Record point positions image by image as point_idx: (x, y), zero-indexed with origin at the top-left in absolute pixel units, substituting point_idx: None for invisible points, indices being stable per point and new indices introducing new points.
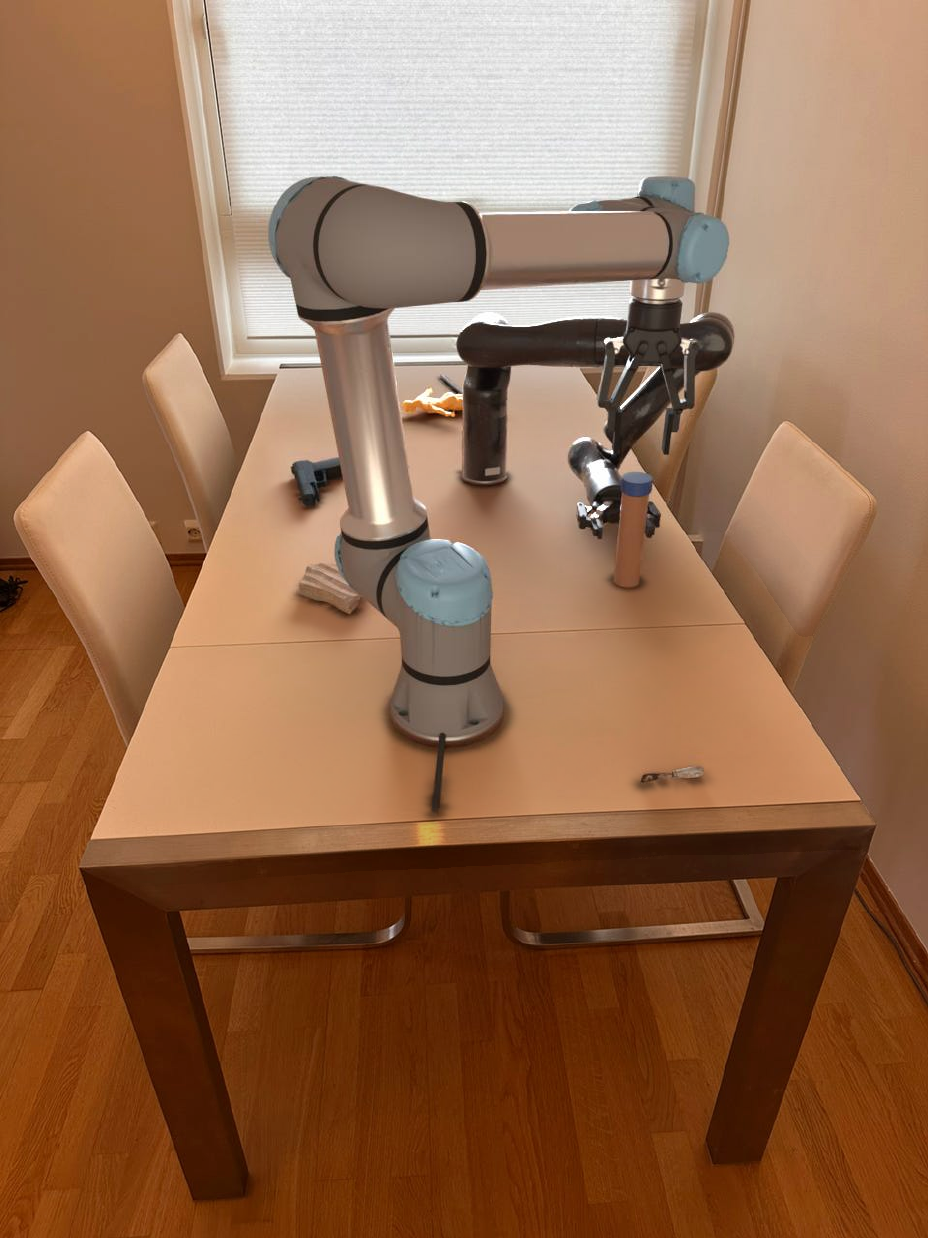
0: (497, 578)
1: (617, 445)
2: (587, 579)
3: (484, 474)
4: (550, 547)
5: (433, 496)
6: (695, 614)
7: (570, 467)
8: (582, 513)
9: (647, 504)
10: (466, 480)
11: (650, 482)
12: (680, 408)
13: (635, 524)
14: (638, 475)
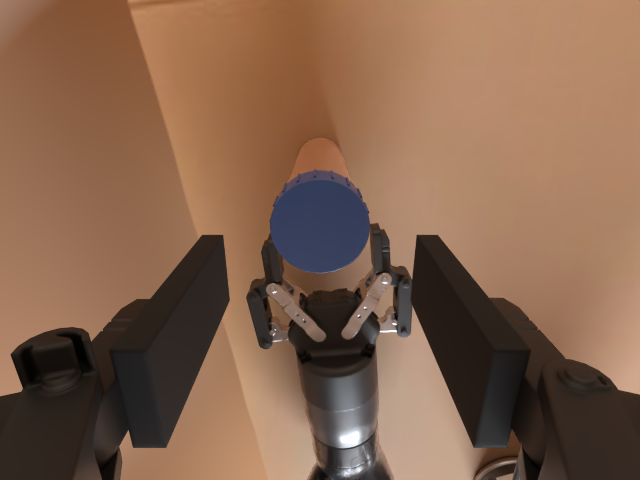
0: (550, 160)
1: (433, 249)
2: (388, 165)
3: None
4: None
5: None
6: (202, 41)
7: (393, 477)
8: (406, 293)
9: None
10: None
11: (279, 198)
12: (37, 383)
13: (316, 158)
14: (314, 244)
